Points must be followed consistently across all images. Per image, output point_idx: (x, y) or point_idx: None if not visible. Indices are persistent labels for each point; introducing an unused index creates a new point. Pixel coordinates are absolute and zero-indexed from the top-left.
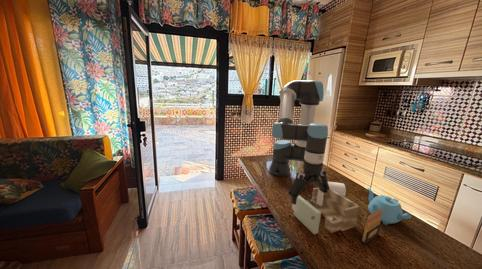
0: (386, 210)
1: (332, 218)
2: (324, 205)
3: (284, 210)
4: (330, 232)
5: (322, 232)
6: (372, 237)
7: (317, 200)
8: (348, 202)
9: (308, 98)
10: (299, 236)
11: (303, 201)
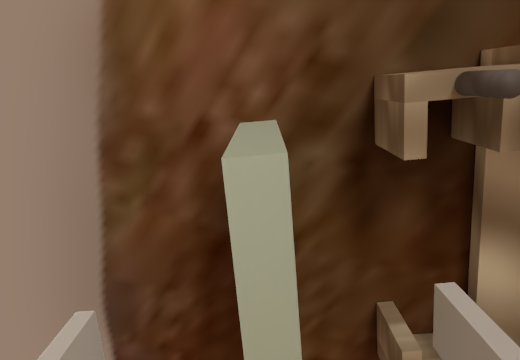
0: None
1: (504, 269)
2: None
3: (189, 49)
4: (377, 348)
5: (326, 335)
6: None
7: (453, 319)
8: None
9: None
10: (156, 326)
11: (248, 302)
